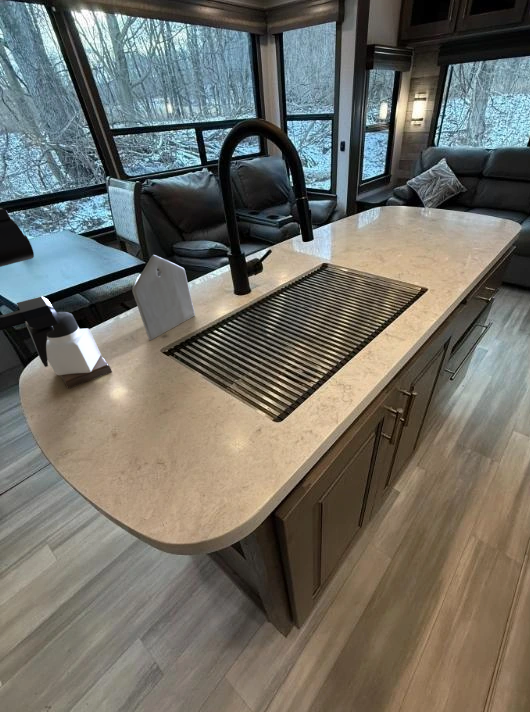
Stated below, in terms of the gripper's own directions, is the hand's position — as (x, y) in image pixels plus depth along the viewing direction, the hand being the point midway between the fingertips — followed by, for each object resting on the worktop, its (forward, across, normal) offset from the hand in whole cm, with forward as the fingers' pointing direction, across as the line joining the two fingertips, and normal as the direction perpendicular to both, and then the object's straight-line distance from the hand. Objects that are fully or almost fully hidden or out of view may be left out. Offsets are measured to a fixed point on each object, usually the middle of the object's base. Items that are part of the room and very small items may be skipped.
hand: (13, 377), depth 52 cm
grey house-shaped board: (+13, -33, -26) cm, 44 cm away
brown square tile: (+13, -10, -17) cm, 24 cm away
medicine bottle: (+11, -10, -17) cm, 22 cm away
